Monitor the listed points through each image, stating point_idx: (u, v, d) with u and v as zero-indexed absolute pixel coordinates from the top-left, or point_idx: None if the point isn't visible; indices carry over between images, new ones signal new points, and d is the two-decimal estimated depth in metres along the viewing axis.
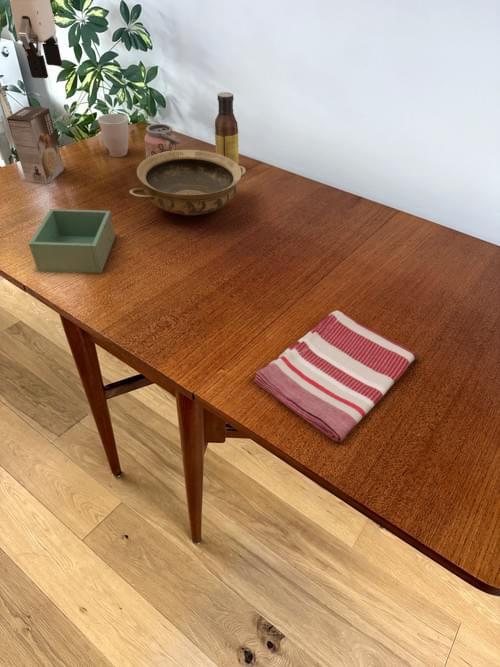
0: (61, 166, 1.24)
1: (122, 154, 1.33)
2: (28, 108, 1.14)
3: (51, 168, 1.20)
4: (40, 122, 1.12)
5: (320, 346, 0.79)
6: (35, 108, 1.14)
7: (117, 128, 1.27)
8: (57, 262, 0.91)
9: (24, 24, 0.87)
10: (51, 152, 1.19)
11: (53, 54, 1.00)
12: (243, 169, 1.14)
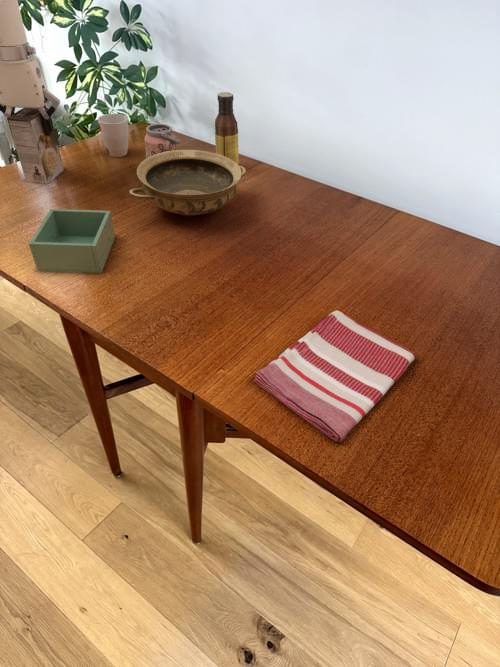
0: (61, 166, 1.24)
1: (122, 154, 1.33)
2: (28, 108, 1.14)
3: (51, 168, 1.20)
4: (40, 122, 1.12)
5: (320, 346, 0.79)
6: (35, 108, 1.14)
7: (117, 128, 1.27)
8: (57, 262, 0.91)
9: None
10: (51, 152, 1.18)
11: None
12: (243, 169, 1.14)
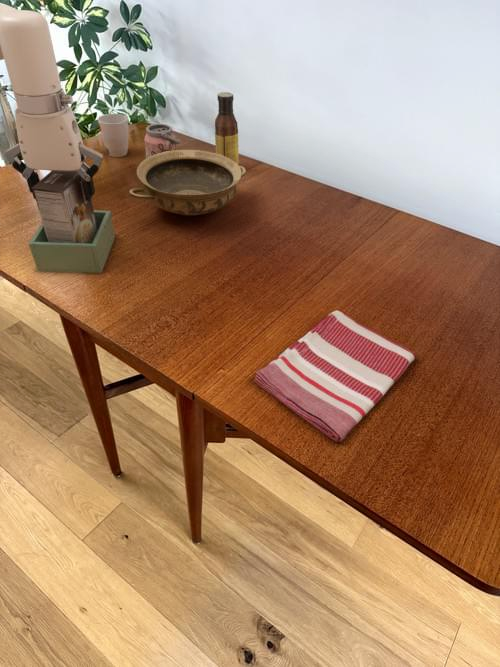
0: None
1: (122, 154, 1.33)
2: (58, 171, 0.88)
3: None
4: (75, 190, 0.86)
5: (320, 346, 0.79)
6: (68, 171, 0.88)
7: (117, 128, 1.27)
8: (57, 262, 0.91)
9: (14, 146, 0.82)
10: (86, 224, 0.93)
11: None
12: (243, 169, 1.14)
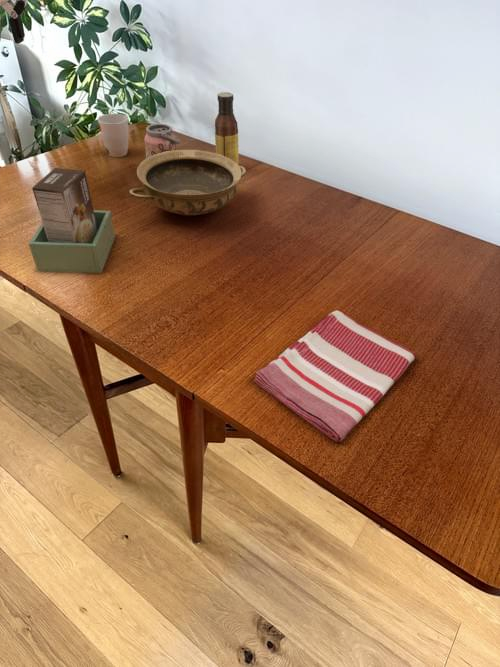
0: None
1: (122, 154, 1.33)
2: (58, 171, 0.88)
3: None
4: (75, 190, 0.86)
5: (320, 346, 0.79)
6: (68, 171, 0.88)
7: (117, 128, 1.27)
8: (57, 262, 0.91)
9: None
10: (86, 224, 0.93)
11: None
12: (243, 169, 1.14)
